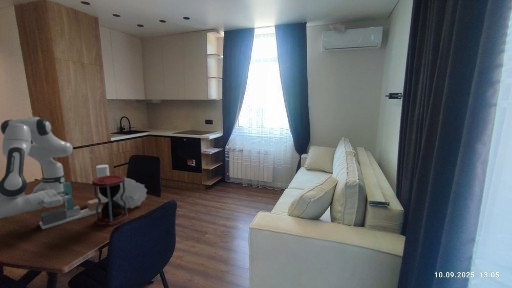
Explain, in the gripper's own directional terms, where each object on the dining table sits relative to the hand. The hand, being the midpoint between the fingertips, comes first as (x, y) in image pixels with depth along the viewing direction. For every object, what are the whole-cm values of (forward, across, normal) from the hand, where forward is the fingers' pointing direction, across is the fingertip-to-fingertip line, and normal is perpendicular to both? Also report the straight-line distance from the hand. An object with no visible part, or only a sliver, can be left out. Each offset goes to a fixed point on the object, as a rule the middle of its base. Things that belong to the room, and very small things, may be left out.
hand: (68, 194), depth 138 cm
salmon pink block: (+12, 0, +14) cm, 18 cm away
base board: (+1, 0, +15) cm, 15 cm away
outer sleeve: (-8, 0, +14) cm, 16 cm away
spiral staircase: (+30, -5, +15) cm, 34 cm away
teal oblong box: (-4, 0, +13) cm, 13 cm away
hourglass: (+15, -20, +15) cm, 29 cm away
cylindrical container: (+22, +12, +15) cm, 30 cm away
